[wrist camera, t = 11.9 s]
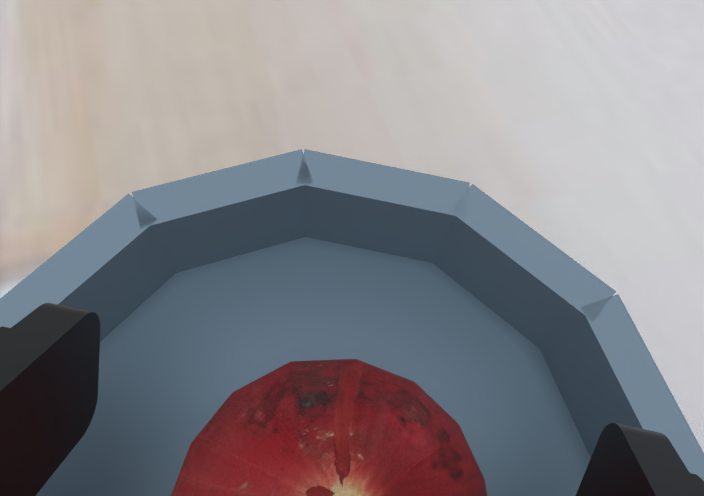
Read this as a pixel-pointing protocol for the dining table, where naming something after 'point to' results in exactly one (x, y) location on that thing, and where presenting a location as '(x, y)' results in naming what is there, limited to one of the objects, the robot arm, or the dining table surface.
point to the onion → (330, 438)
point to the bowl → (344, 318)
